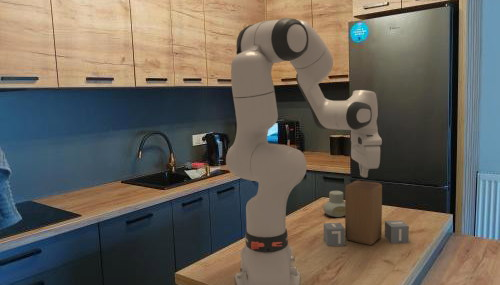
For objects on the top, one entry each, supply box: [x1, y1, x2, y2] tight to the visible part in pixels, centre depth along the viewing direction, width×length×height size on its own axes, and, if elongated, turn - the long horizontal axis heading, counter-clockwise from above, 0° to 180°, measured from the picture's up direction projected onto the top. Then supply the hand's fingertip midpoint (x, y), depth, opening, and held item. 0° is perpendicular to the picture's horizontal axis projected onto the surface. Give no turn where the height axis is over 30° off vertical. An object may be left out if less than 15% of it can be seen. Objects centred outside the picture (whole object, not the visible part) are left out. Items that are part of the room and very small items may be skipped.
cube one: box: [384, 219, 410, 244], centre depth 134 cm, size 6×6×6 cm
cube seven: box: [323, 222, 346, 247], centre depth 134 cm, size 6×6×6 cm
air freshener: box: [322, 190, 345, 218], centre depth 162 cm, size 11×8×10 cm
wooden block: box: [344, 179, 383, 246], centre depth 135 cm, size 10×10×20 cm
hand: (363, 176), depth 133 cm, fingers closed
